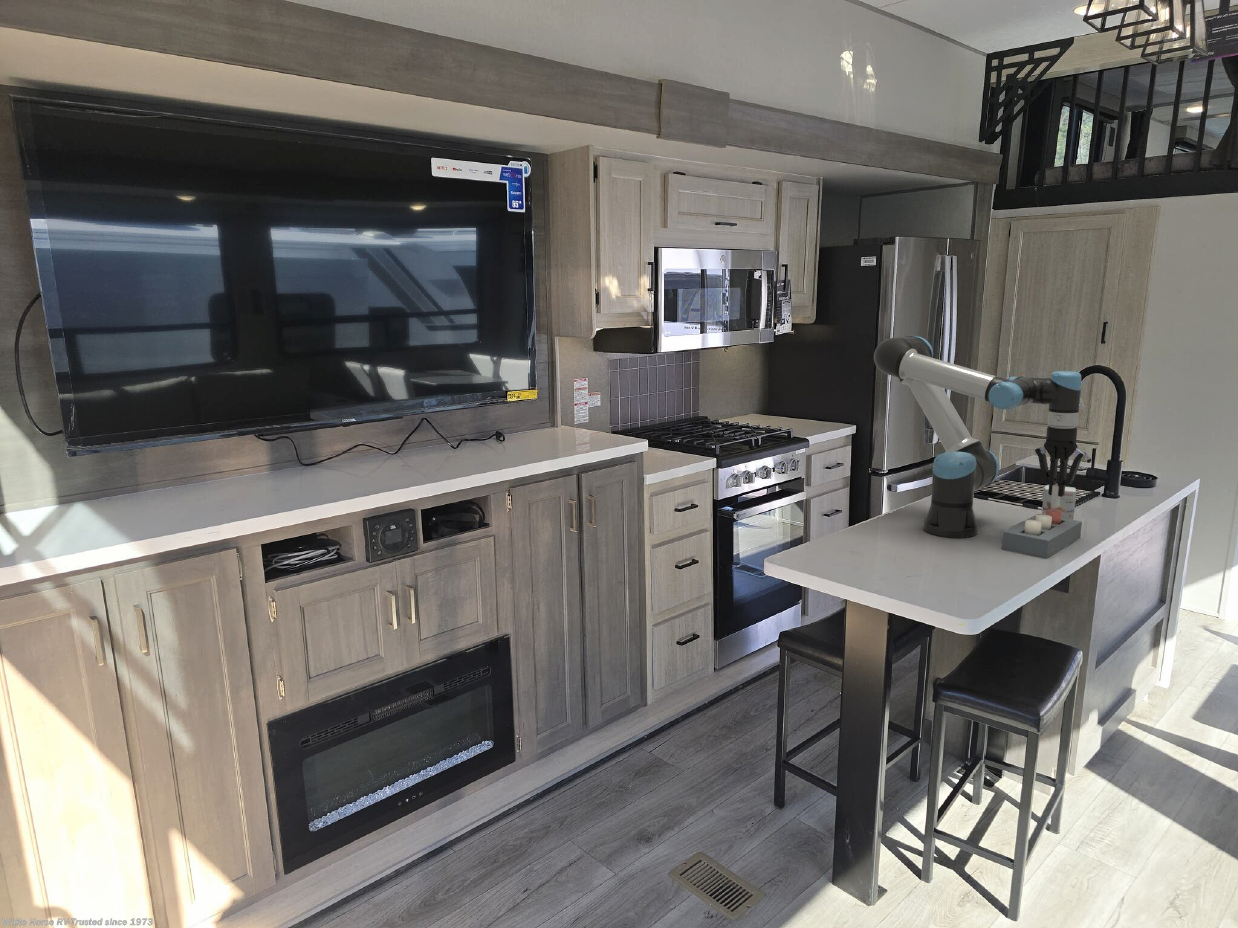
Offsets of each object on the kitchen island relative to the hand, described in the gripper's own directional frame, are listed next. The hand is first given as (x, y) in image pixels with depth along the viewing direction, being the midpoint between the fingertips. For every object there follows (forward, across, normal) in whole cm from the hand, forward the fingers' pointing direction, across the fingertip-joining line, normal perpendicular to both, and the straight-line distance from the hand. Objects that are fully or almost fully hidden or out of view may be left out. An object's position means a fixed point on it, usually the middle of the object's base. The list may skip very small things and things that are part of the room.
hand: (1055, 506), depth 227 cm
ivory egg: (+6, 0, -15) cm, 16 cm away
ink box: (+10, -4, +14) cm, 18 cm away
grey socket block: (+9, 0, -8) cm, 12 cm away
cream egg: (+6, 0, -7) cm, 10 cm away
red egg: (+6, 0, 0) cm, 6 cm away
